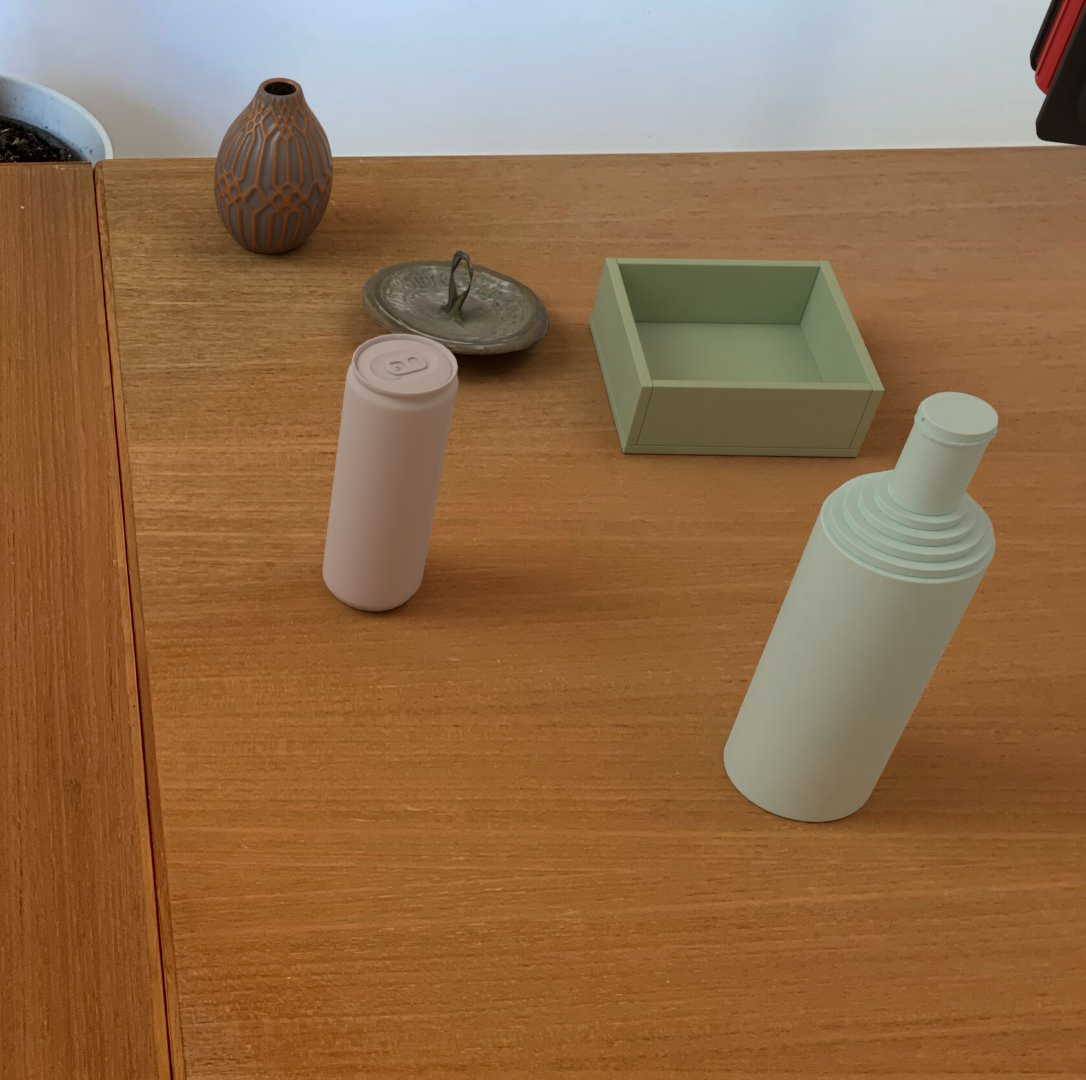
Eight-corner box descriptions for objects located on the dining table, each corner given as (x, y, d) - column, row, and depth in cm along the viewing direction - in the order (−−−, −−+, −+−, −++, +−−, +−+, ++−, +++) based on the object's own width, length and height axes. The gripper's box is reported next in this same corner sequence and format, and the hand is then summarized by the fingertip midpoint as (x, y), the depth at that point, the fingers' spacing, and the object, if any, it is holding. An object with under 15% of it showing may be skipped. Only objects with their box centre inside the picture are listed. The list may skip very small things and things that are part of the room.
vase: (268, 280, 98) (280, 129, 92) (187, 234, 102) (193, 84, 95) (350, 239, 101) (367, 89, 94) (269, 195, 104) (280, 47, 97)
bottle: (851, 719, 76) (1022, 361, 62) (889, 823, 72) (1081, 468, 58) (709, 717, 76) (848, 360, 62) (739, 822, 72) (894, 466, 58)
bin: (805, 327, 96) (829, 260, 92) (857, 457, 88) (885, 390, 85) (589, 323, 96) (605, 257, 93) (622, 453, 88) (641, 386, 85)
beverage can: (303, 567, 83) (328, 346, 73) (390, 542, 84) (425, 321, 74) (350, 627, 80) (382, 406, 70) (438, 601, 81) (482, 379, 72)
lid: (340, 383, 95) (349, 316, 90) (375, 253, 98) (386, 182, 94) (527, 418, 93) (546, 353, 89) (556, 285, 97) (576, 215, 92)
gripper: (1227, -771, 44) (954, -19, 59) (1314, -636, 35) (961, 224, 49) (1545, -761, 43) (1184, 6, 57) (1727, -617, 33) (1238, 261, 48)
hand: (1084, 100), depth 53 cm, fingers closed on cap, 3 cm apart
